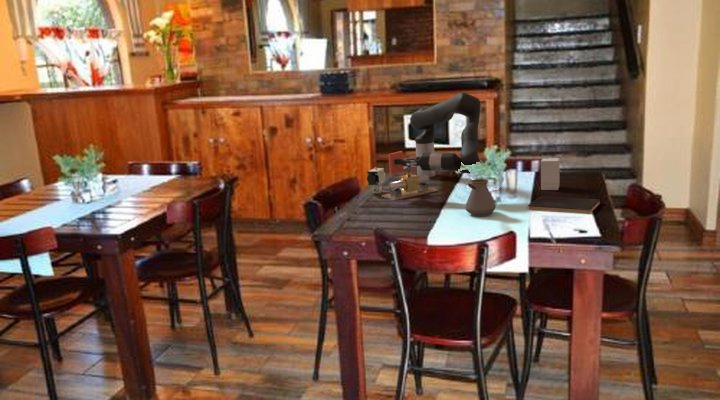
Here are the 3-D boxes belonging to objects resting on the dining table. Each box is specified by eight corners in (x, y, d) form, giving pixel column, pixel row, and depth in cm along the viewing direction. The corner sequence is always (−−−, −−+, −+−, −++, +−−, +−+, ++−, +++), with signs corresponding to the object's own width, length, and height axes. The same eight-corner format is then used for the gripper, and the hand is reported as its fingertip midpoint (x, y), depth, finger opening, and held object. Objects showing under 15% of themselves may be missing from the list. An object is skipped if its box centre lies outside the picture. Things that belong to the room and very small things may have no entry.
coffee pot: (470, 209, 245) (468, 172, 242) (499, 210, 240) (498, 172, 237) (453, 224, 226) (452, 183, 223) (485, 225, 221) (483, 184, 218)
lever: (407, 169, 281) (406, 148, 279) (414, 169, 279) (413, 149, 277) (387, 175, 271) (385, 154, 269) (394, 175, 268) (392, 154, 266)
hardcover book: (590, 215, 226) (590, 209, 225) (527, 211, 238) (527, 205, 238) (600, 205, 239) (600, 199, 238) (540, 201, 251) (540, 195, 251)
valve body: (424, 187, 291) (422, 165, 289) (437, 190, 283) (436, 168, 280) (381, 197, 279) (379, 174, 277) (394, 200, 271) (392, 176, 268)
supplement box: (558, 190, 266) (558, 160, 263) (540, 190, 269) (540, 161, 266) (560, 186, 273) (559, 157, 270) (542, 186, 275) (542, 158, 273)
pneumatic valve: (367, 195, 284) (365, 169, 282) (378, 190, 294) (376, 165, 292) (378, 196, 282) (376, 169, 279) (389, 190, 292) (387, 165, 289)
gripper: (437, 150, 267) (400, 150, 275) (427, 155, 256) (388, 155, 263) (438, 167, 269) (401, 167, 277) (428, 173, 257) (389, 173, 265)
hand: (395, 161), depth 270 cm, fingers closed
